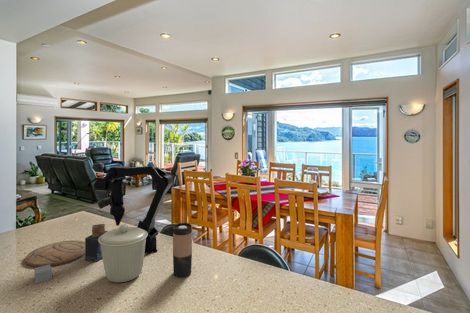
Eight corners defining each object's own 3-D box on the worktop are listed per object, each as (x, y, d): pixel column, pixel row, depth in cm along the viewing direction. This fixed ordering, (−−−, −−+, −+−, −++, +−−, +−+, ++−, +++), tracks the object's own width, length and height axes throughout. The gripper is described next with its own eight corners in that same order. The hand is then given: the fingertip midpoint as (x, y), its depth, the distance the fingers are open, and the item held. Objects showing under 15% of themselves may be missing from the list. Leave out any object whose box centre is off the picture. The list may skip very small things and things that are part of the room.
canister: (98, 294, 91) (97, 236, 90) (99, 270, 107) (98, 220, 106) (151, 281, 100) (151, 228, 98) (144, 261, 116) (144, 215, 114)
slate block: (50, 273, 104) (50, 264, 104) (51, 279, 100) (51, 269, 100) (34, 278, 101) (34, 268, 100) (35, 283, 97) (35, 273, 97)
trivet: (51, 273, 105) (51, 268, 105) (11, 262, 113) (11, 258, 113) (101, 248, 128) (101, 244, 128) (66, 240, 137) (66, 237, 137)
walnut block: (104, 231, 122) (104, 223, 122) (104, 235, 118) (104, 227, 117) (92, 233, 120) (92, 225, 119) (92, 237, 115) (92, 228, 115)
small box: (97, 262, 114) (96, 239, 113) (84, 260, 115) (83, 238, 114) (113, 252, 124) (112, 230, 123) (101, 250, 125) (100, 229, 124)
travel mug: (195, 270, 108) (195, 224, 107) (185, 279, 101) (186, 230, 100) (179, 267, 111) (179, 221, 109) (169, 276, 104) (169, 227, 102)
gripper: (99, 189, 131) (99, 219, 132) (97, 197, 114) (98, 231, 115) (123, 187, 136) (123, 216, 137) (124, 195, 119) (125, 228, 120)
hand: (117, 222), depth 127 cm, fingers open, 9 cm apart
